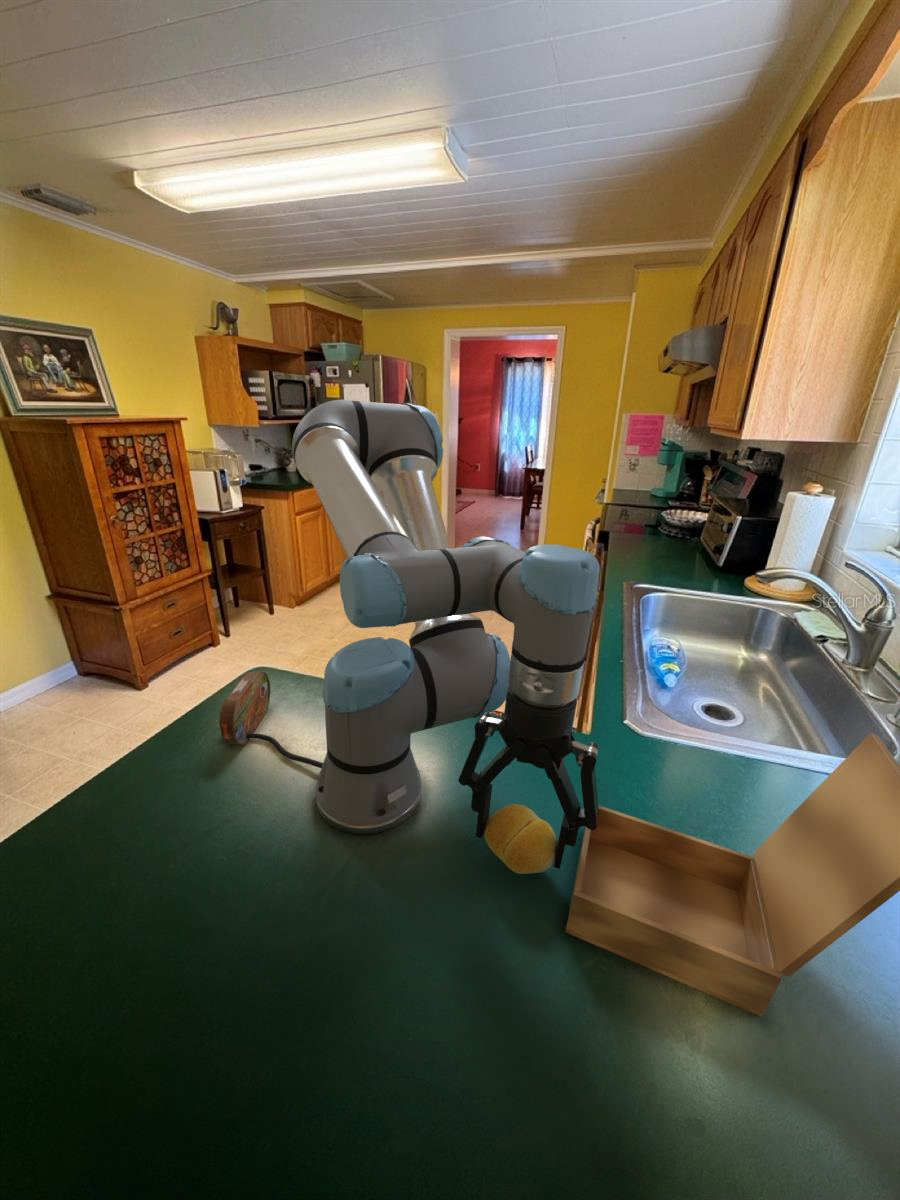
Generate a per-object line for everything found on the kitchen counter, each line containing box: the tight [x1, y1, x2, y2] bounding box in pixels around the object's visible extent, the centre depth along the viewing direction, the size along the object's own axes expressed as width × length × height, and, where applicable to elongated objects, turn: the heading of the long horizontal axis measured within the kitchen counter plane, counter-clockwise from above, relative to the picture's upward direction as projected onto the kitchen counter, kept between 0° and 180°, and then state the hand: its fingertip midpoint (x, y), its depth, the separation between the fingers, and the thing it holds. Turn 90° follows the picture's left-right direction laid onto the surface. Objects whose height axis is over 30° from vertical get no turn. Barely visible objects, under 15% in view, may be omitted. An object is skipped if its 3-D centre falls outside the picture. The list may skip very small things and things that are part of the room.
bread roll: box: [484, 803, 558, 875], centre depth 58 cm, size 8×9×4 cm
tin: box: [218, 670, 271, 745], centre depth 81 cm, size 15×3×8 cm, turn 179°
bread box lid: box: [753, 732, 900, 978], centre depth 45 cm, size 20×14×5 cm
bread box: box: [565, 805, 783, 1018], centre depth 54 cm, size 19×14×6 cm
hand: (519, 844), depth 59 cm, fingers closed on bread roll, 9 cm apart
